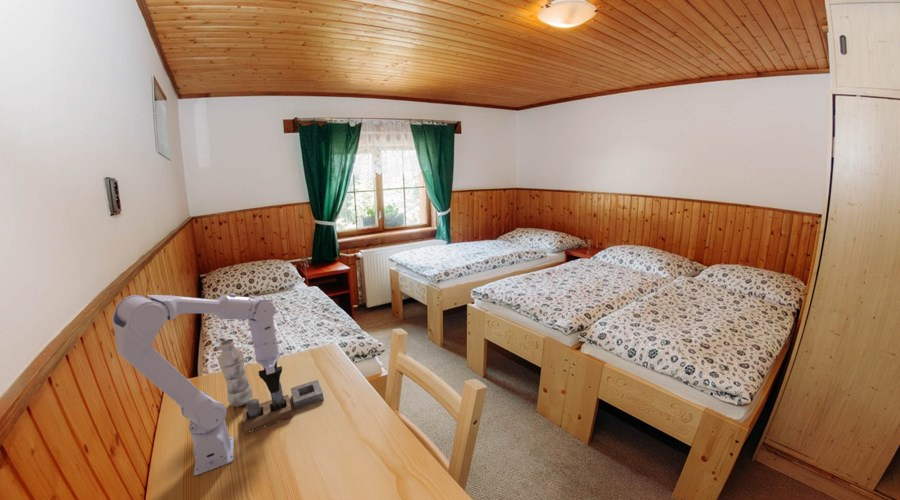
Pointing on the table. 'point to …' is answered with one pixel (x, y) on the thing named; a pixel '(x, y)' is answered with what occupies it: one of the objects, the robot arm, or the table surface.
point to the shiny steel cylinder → (278, 399)
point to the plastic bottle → (234, 373)
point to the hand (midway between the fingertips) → (273, 384)
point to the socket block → (308, 398)
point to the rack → (269, 417)
